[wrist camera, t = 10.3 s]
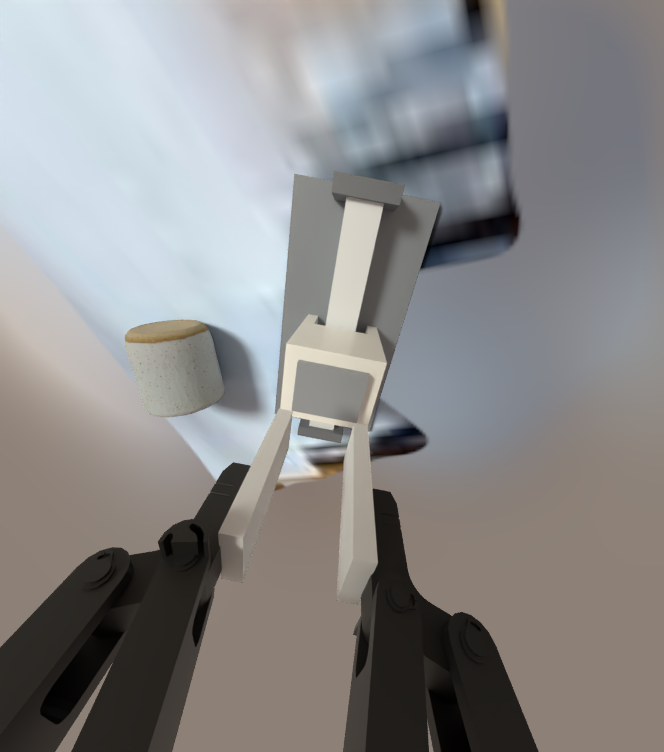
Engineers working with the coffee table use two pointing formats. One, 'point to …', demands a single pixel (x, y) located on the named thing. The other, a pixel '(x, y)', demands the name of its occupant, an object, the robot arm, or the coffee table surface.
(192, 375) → the ceramic mug
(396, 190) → the rail base
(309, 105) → the coffee table surface
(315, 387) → the module
